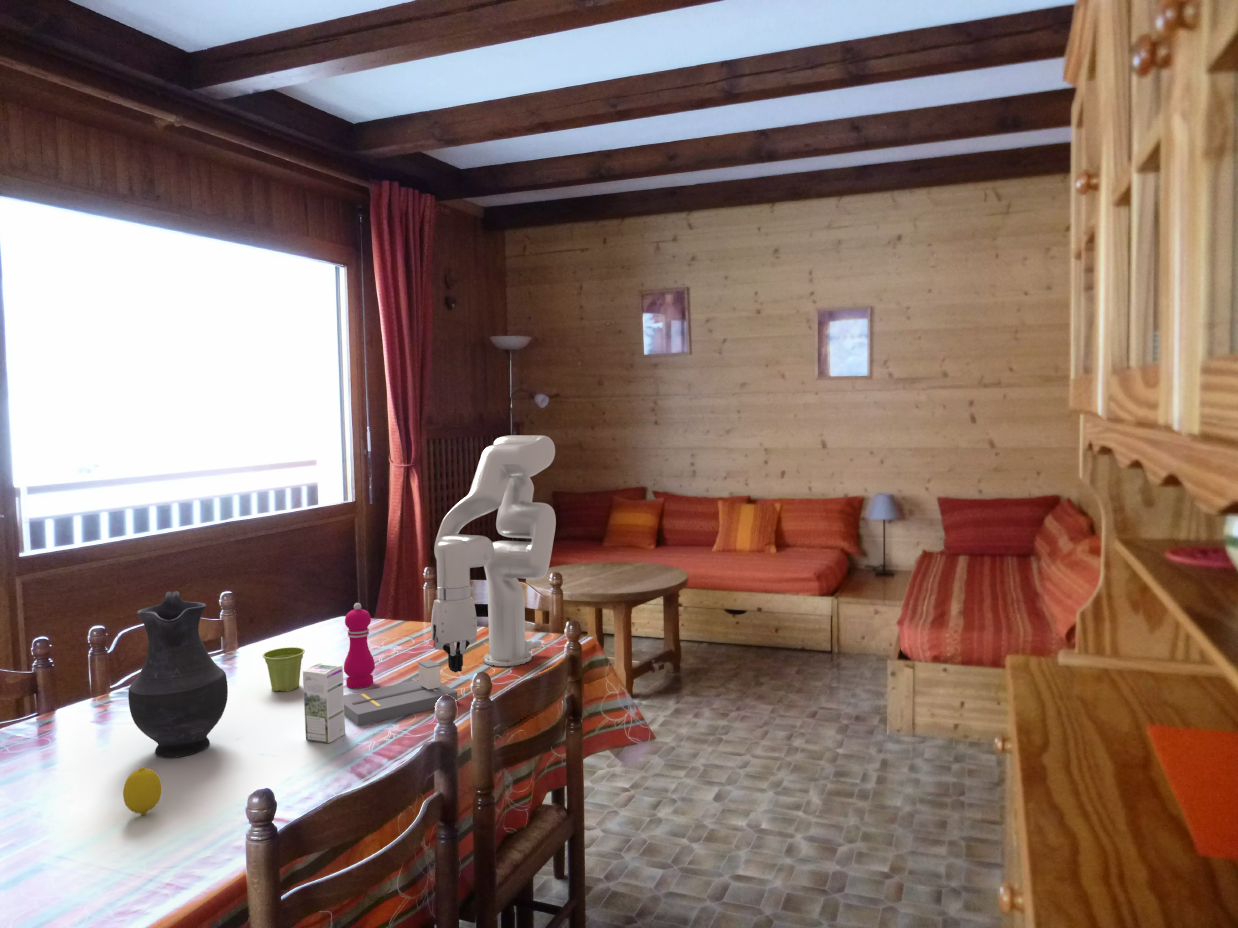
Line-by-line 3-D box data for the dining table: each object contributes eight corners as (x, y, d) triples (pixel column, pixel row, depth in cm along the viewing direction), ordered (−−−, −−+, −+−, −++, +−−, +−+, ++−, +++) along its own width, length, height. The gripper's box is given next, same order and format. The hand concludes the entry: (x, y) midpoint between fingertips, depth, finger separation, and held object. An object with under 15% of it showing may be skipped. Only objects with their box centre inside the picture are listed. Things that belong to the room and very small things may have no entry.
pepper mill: (379, 680, 213) (377, 599, 212) (368, 689, 206) (366, 606, 205) (351, 679, 214) (349, 599, 213) (339, 688, 207) (336, 606, 206)
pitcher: (129, 773, 160) (121, 612, 158) (133, 736, 178) (126, 591, 176) (232, 754, 168) (226, 601, 166) (226, 721, 186) (220, 583, 184)
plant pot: (272, 697, 202) (271, 660, 201) (258, 687, 209) (257, 652, 208) (312, 688, 208) (310, 652, 207) (297, 679, 215) (295, 644, 214)
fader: (431, 681, 202) (430, 659, 202) (440, 686, 198) (440, 664, 198) (418, 684, 200) (418, 661, 200) (428, 689, 196) (427, 667, 196)
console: (430, 687, 207) (430, 676, 207) (457, 702, 196) (457, 691, 196) (335, 708, 193) (334, 696, 193) (358, 725, 182) (357, 713, 182)
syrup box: (346, 733, 178) (344, 664, 177) (328, 744, 172) (325, 672, 171) (323, 730, 180) (320, 661, 179) (304, 741, 174) (301, 670, 173)
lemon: (134, 807, 146) (131, 761, 145) (168, 806, 146) (166, 759, 146) (118, 823, 140) (115, 775, 140) (153, 821, 141) (151, 773, 140)
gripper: (475, 586, 210) (476, 661, 211) (417, 594, 200) (419, 672, 202) (490, 591, 204) (491, 668, 205) (431, 600, 195) (433, 680, 196)
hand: (455, 670), depth 203 cm, fingers closed
